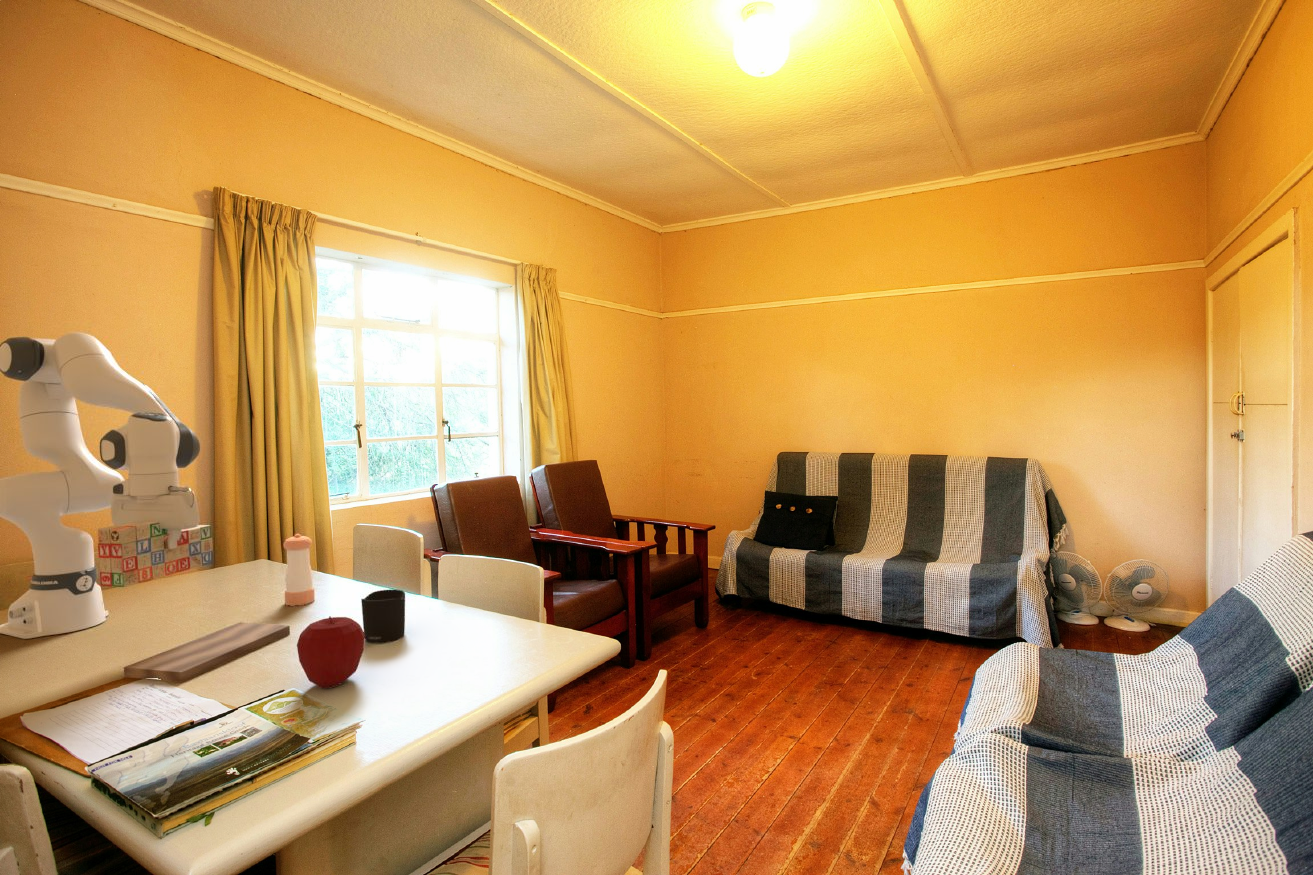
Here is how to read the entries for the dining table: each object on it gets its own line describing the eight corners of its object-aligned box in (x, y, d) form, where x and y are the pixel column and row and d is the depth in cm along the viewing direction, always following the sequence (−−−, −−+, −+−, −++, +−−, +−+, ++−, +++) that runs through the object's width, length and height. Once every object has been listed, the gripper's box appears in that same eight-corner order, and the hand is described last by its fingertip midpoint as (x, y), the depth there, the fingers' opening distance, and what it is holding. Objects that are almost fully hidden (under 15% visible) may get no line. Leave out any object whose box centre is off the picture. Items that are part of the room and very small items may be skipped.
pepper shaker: (306, 596, 186) (304, 530, 185) (319, 601, 182) (317, 533, 181) (280, 603, 180) (277, 534, 179) (292, 607, 176) (290, 537, 175)
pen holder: (355, 637, 152) (354, 595, 151) (395, 627, 159) (393, 587, 158) (373, 647, 145) (372, 603, 145) (413, 636, 152) (412, 594, 152)
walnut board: (124, 676, 131) (123, 667, 131) (240, 630, 158) (239, 622, 158) (181, 682, 128) (181, 672, 128) (289, 633, 155) (289, 625, 155)
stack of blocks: (192, 562, 157) (190, 511, 156) (214, 563, 155) (211, 512, 155) (99, 586, 136) (96, 527, 135) (123, 587, 134) (120, 528, 134)
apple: (361, 691, 122) (358, 622, 122) (291, 700, 119) (289, 628, 118) (369, 667, 134) (367, 603, 133) (306, 675, 130) (304, 609, 130)
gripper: (206, 485, 145) (208, 546, 146) (131, 483, 149) (134, 543, 150) (179, 488, 139) (182, 552, 140) (103, 486, 143) (106, 549, 144)
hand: (157, 547), depth 145 cm, fingers closed on stack of blocks, 6 cm apart
